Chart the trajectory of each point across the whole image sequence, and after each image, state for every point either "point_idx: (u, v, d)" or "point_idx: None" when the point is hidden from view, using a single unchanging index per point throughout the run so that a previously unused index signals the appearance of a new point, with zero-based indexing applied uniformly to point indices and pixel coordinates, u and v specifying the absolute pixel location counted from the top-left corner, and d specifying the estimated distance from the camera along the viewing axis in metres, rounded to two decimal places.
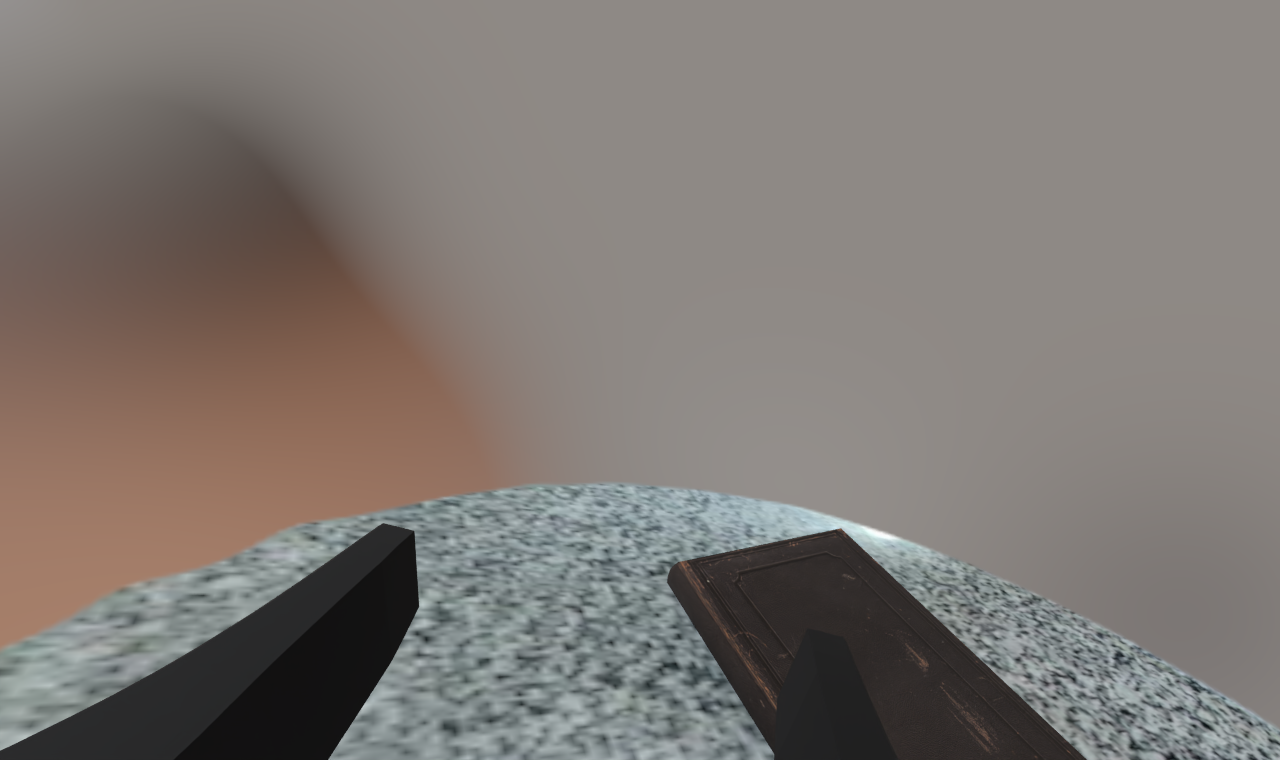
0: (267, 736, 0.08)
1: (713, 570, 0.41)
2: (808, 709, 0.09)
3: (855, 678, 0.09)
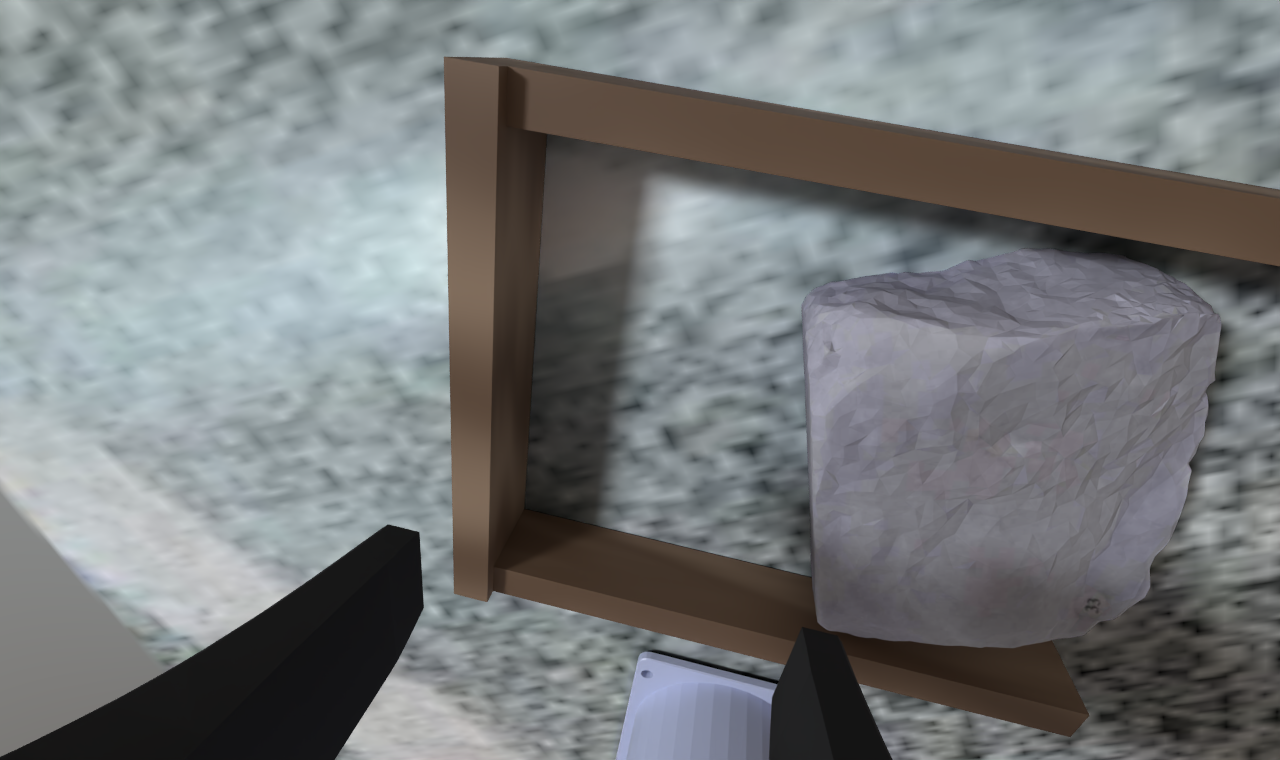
0: (274, 738, 0.08)
1: None
2: (802, 707, 0.09)
3: (849, 676, 0.09)
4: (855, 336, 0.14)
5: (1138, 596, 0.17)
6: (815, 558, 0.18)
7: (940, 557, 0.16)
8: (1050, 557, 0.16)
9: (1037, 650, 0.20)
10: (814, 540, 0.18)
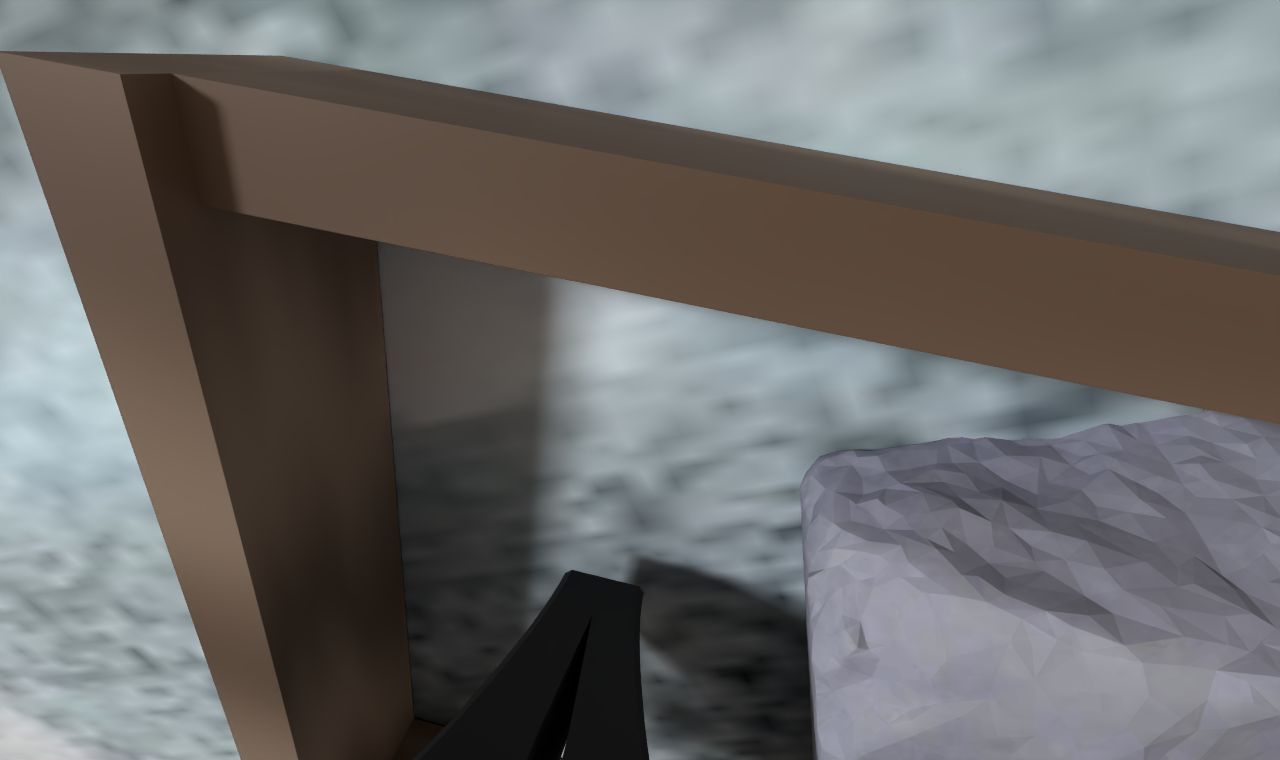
0: None
1: None
2: None
3: (629, 621, 0.09)
4: (913, 630, 0.07)
5: None
6: None
7: None
8: None
9: None
10: None
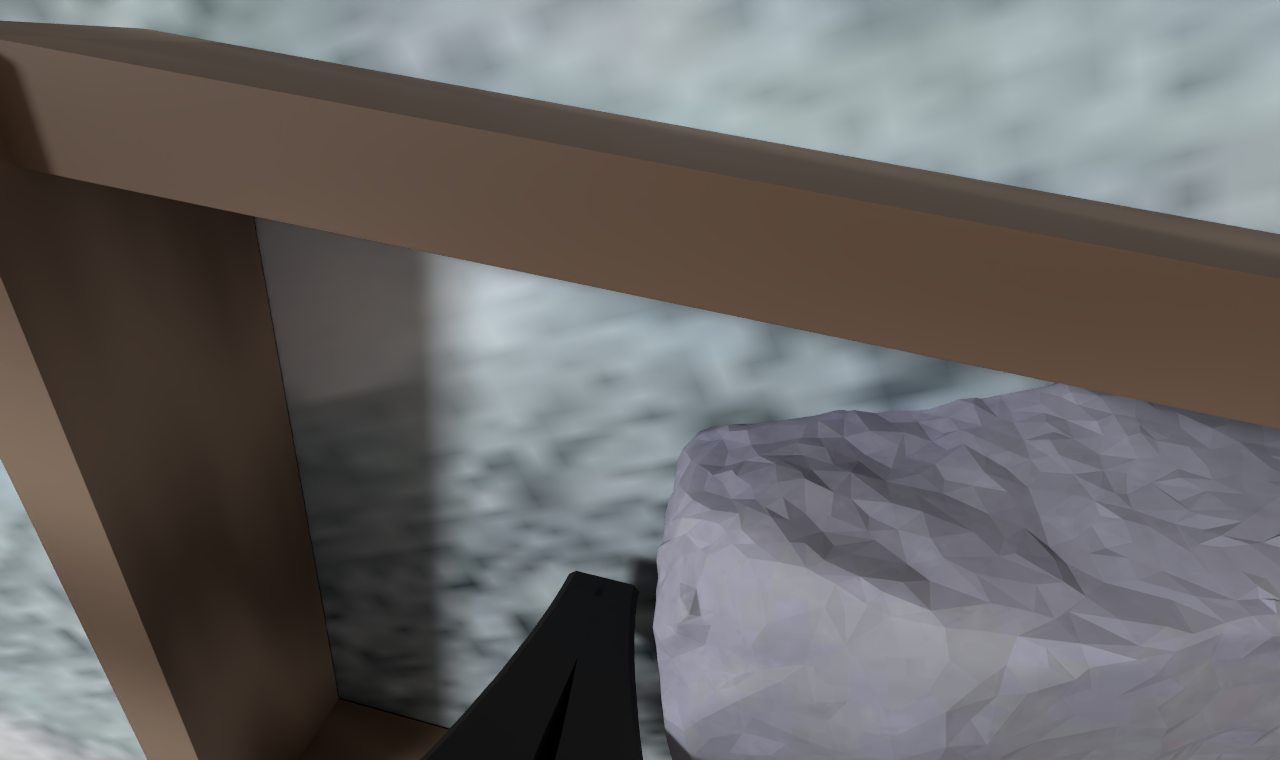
0: None
1: None
2: None
3: (624, 619, 0.09)
4: (737, 596, 0.07)
5: None
6: None
7: None
8: None
9: None
10: None
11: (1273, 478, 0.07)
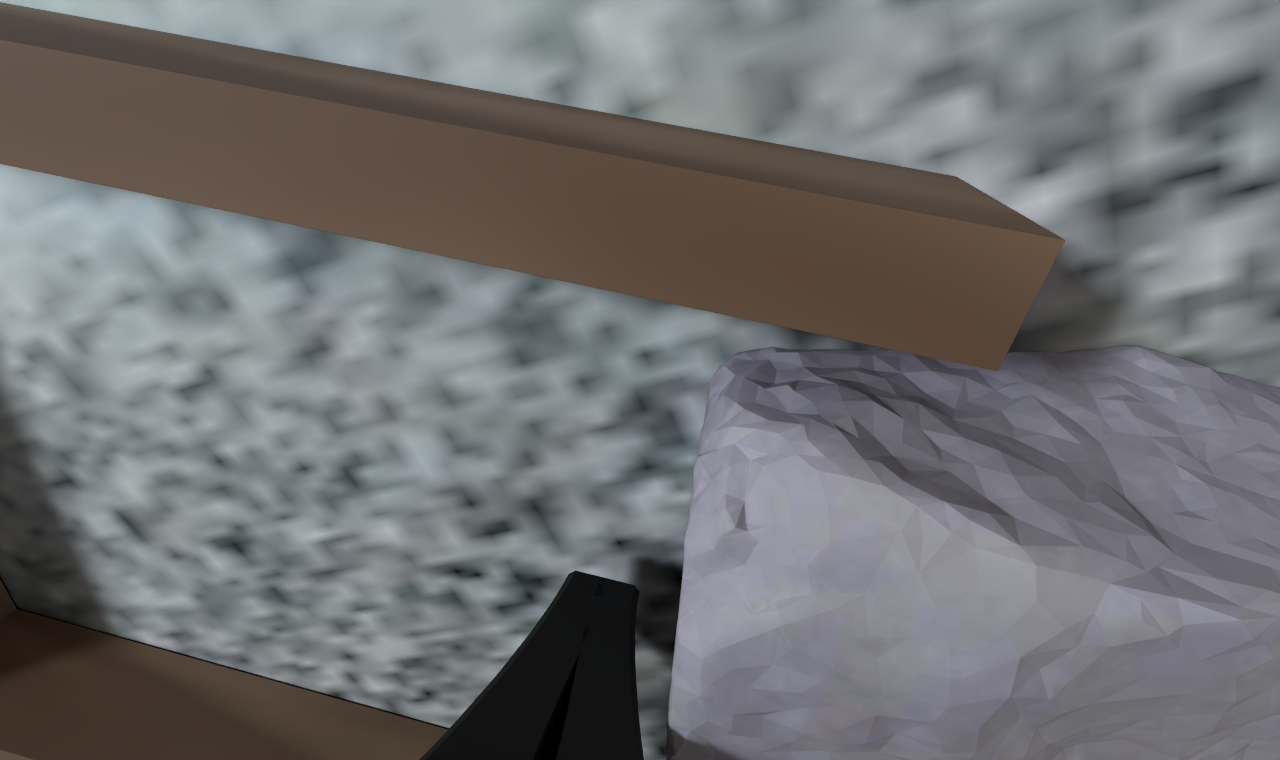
0: None
1: None
2: None
3: (625, 620, 0.09)
4: (799, 510, 0.06)
5: None
6: None
7: None
8: None
9: None
10: None
11: None
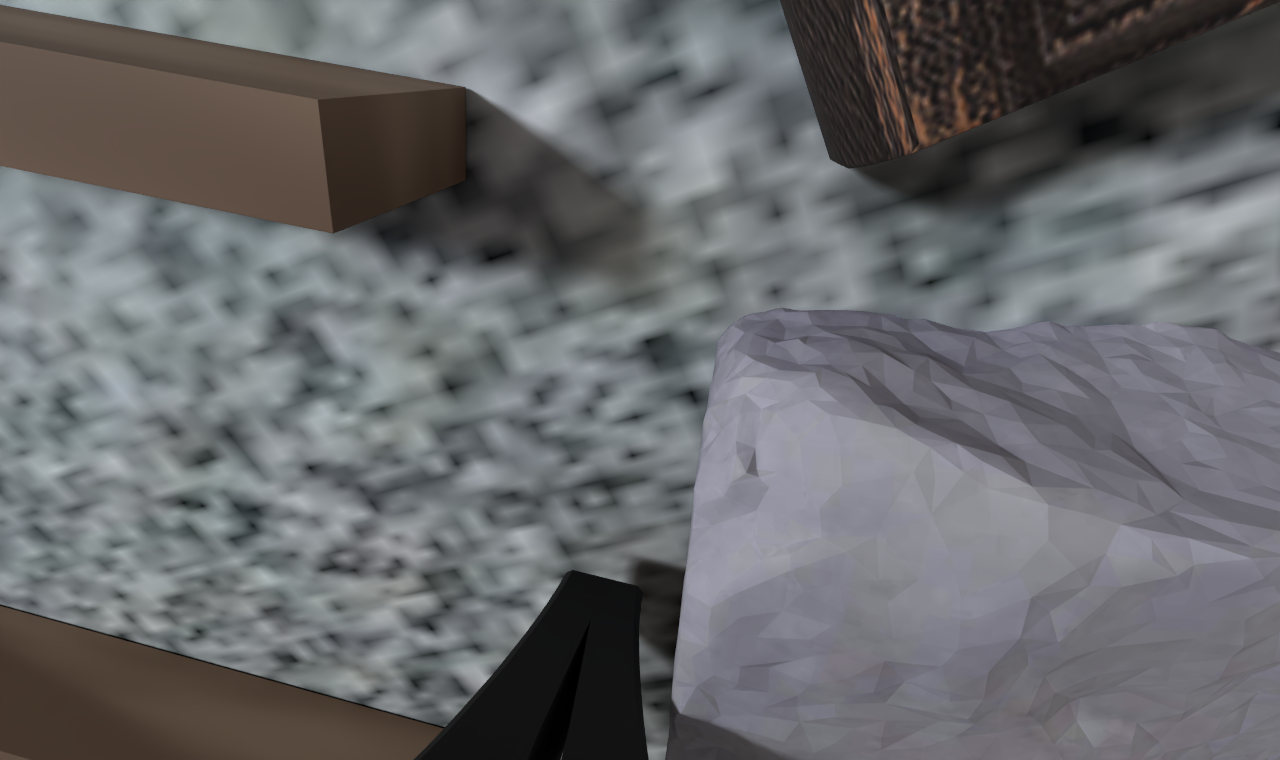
0: None
1: None
2: None
3: (629, 621, 0.09)
4: (810, 455, 0.06)
5: None
6: None
7: None
8: None
9: None
10: (667, 759, 0.10)
11: None
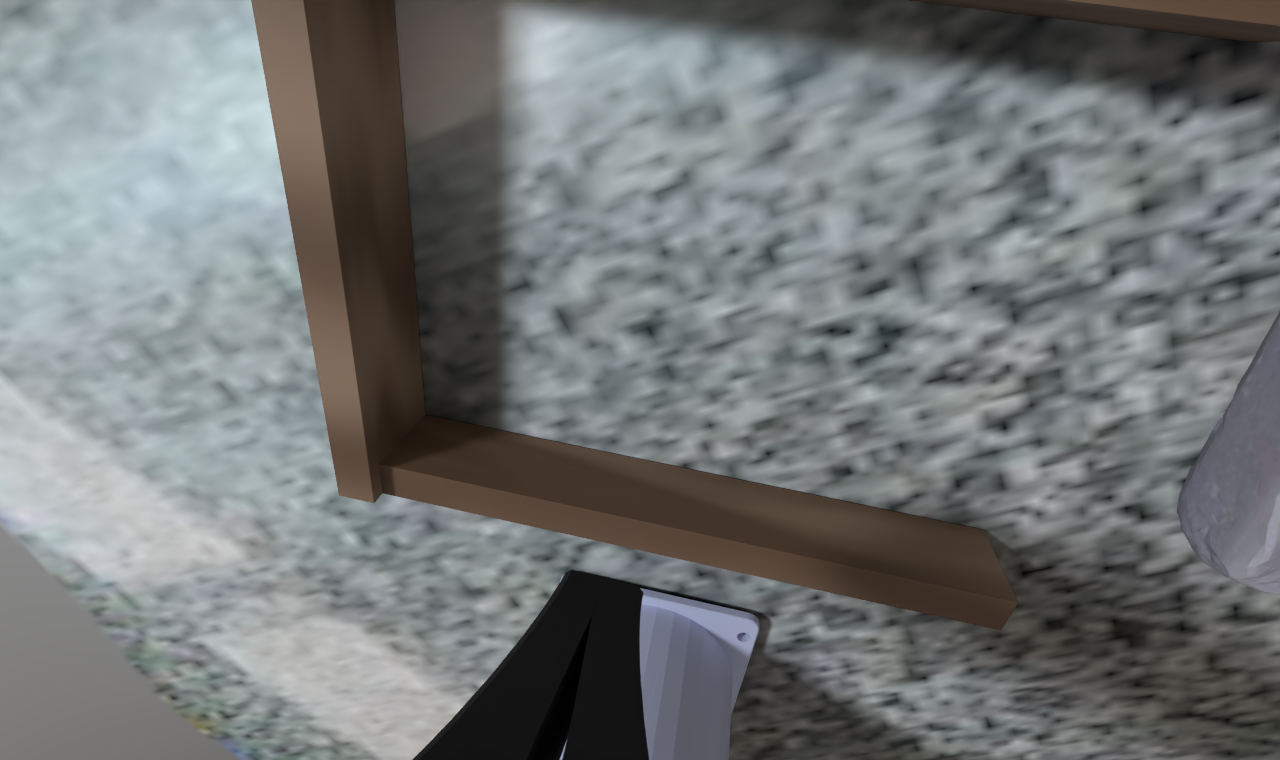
0: None
1: None
2: None
3: (629, 621, 0.09)
4: None
5: None
6: None
7: None
8: None
9: (969, 543, 0.19)
10: None
11: None
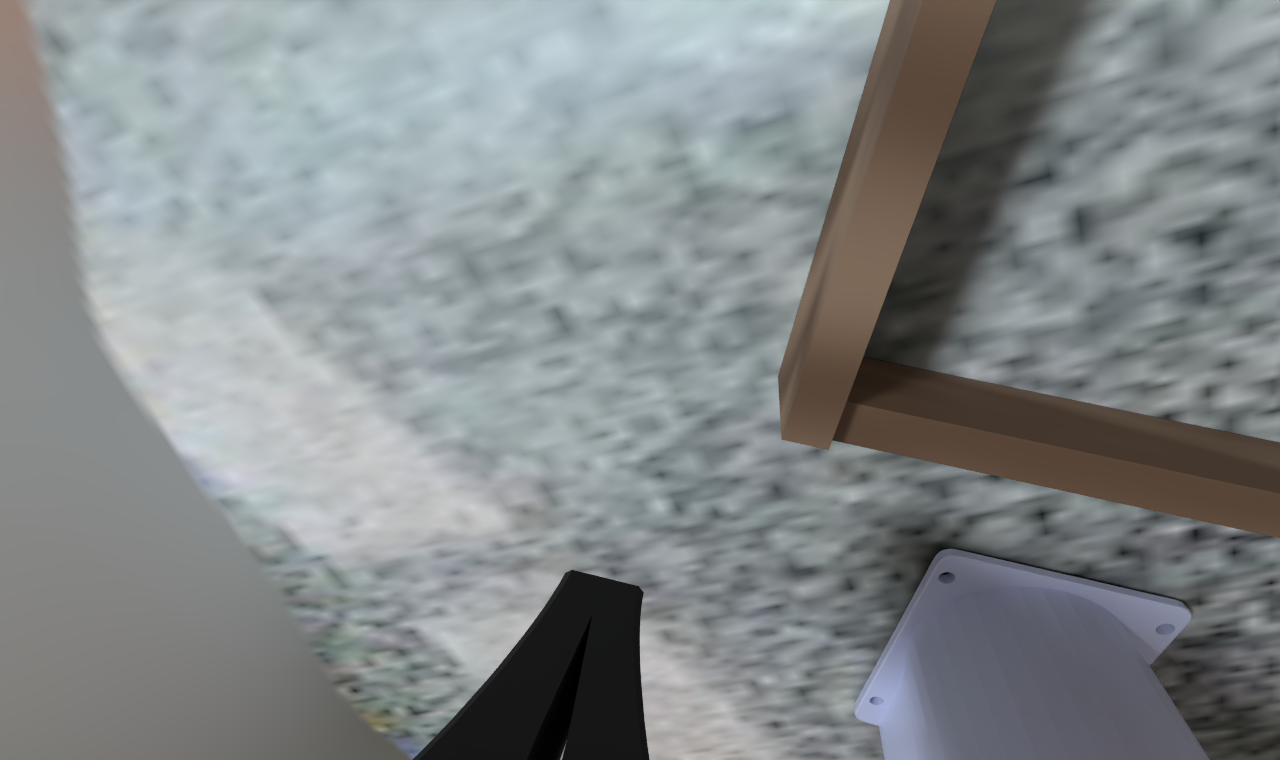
0: None
1: None
2: None
3: (629, 621, 0.09)
4: None
5: None
6: None
7: None
8: None
9: None
10: None
11: None
